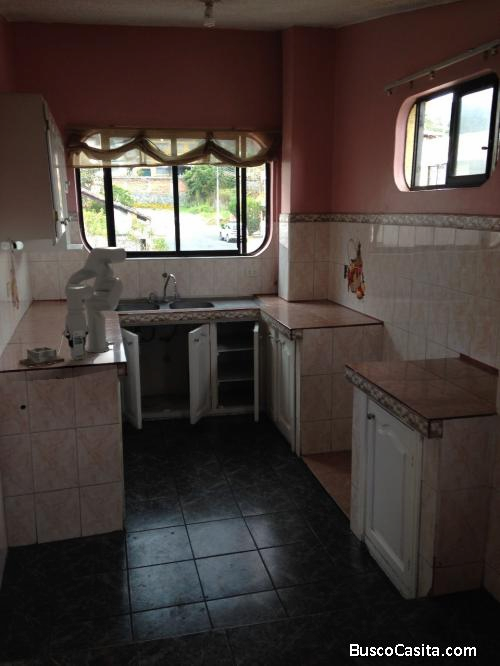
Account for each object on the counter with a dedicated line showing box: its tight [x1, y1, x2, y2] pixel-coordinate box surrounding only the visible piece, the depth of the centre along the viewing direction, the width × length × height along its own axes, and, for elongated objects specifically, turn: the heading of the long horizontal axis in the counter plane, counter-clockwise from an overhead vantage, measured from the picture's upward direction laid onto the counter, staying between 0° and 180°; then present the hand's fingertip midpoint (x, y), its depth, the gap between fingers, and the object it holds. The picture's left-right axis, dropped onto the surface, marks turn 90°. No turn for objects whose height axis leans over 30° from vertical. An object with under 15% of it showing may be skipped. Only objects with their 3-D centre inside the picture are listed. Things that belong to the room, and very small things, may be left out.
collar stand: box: [18, 345, 65, 367], centre depth 299 cm, size 18×12×6 cm, turn 135°
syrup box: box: [70, 330, 87, 360], centre depth 304 cm, size 6×6×14 cm
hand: (77, 345), depth 304 cm, fingers closed on syrup box, 6 cm apart
